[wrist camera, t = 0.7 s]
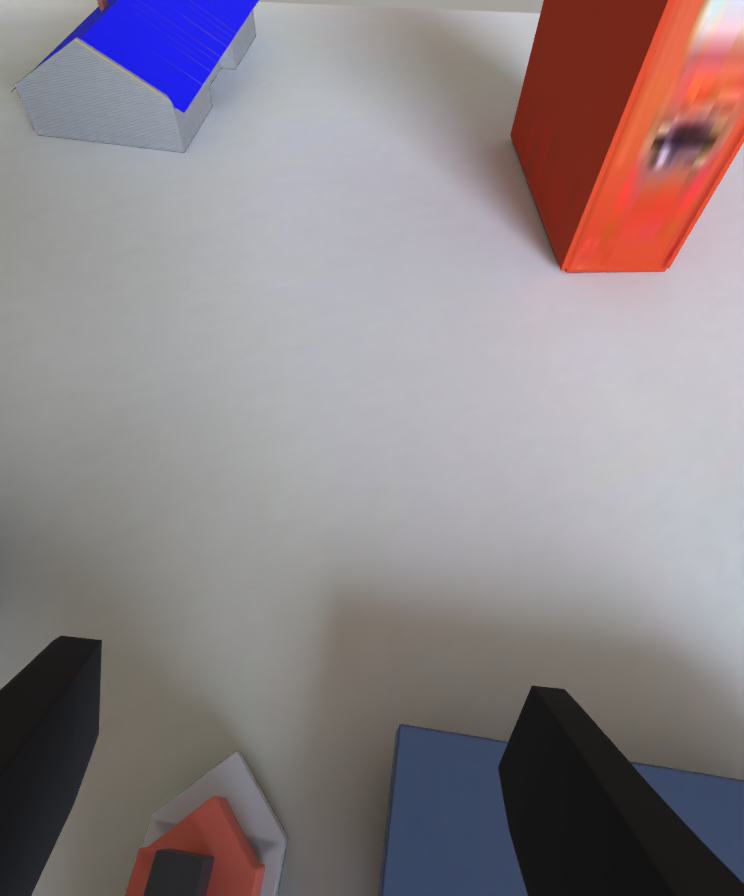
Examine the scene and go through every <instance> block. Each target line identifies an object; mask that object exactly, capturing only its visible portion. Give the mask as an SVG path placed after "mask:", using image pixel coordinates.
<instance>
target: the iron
mask: <svg viewBox="0 0 744 896" xmlns="http://www.w3.org/2000/svg"><path fill="white" fill-rule="evenodd" d="M287 840H288V837H287V835H286V834H285V832H284V830H283V828H282V826H281V825H280V823H279V821H278V819H277V817H276V816H275V814H274V812H273V810H272V808H271V806H270V805H269V803H268V801H267V799H266V797H265V796H264V794H263V792H262V790H261V788H260V787H259V785H258V783H257V781H256V779H255V778H254V776H253V774H252V772H251V770H250V769H249V767H248V765H247V763H246V761H245V760H244V758H243V756H242V754H241V753H239V752H238V751H235V752H234V753H232V754H231V755H230V756H228V757H227V758H226V759H224V760H223V761H222V762H220V763H219V764H218V765H216V766H215V767H214V768H213V769H211V770H210V771H209V772H207V773H206V774H205V775H203V776H202V777H201V778H199V779H198V780H197V781H195V782H194V783H193V784H191V785H190V786H189V787H188V788H186V789H185V790H184V791H182V792H181V793H180V794H178V795H177V796H176V797H174V798H173V799H172V800H170V801H169V802H168V803H166V804H165V805H164V806H163V807H161V808H160V809H159V810H157V811H156V812H155V813H153V814H152V815H151V819H150V822H149V825H148V828H147V832H146V835H145V838H144V842H143V845H142V848H140V849H139V851H138V854H137V857H136V861H135V864H134V867H133V871H132V874H131V877H130V881H129V884H128V887H127V890H126V894H125V896H277V893H278V888H279V883H280V877H281V872H282V867H283V861H284V856H285V850H286V845H287Z"/></svg>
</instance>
